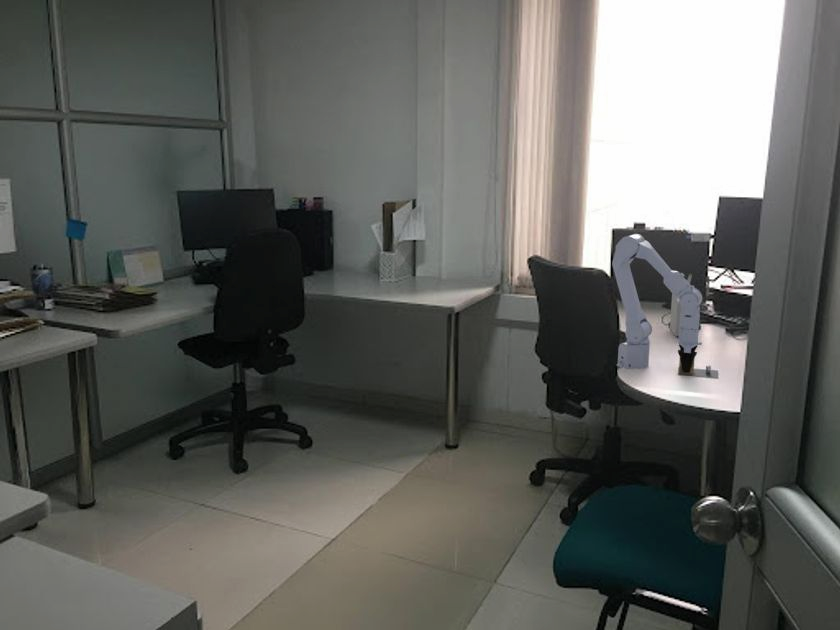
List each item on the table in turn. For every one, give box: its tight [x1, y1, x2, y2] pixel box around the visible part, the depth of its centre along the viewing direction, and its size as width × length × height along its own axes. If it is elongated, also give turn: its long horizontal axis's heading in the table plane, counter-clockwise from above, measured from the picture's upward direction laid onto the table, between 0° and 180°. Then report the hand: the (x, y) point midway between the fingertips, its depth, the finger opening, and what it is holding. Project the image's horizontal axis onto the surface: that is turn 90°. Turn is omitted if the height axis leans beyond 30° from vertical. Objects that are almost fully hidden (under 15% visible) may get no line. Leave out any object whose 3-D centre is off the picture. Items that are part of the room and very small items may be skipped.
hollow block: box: [678, 357, 696, 374], centre depth 228 cm, size 4×4×5 cm
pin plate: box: [677, 366, 719, 380], centre depth 227 cm, size 12×9×1 cm
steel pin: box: [705, 365, 712, 374], centre depth 226 cm, size 1×1×2 cm
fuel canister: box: [669, 273, 693, 338], centre depth 277 cm, size 15×5×25 cm, turn 170°
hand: (686, 369), depth 228 cm, fingers open, 6 cm apart
